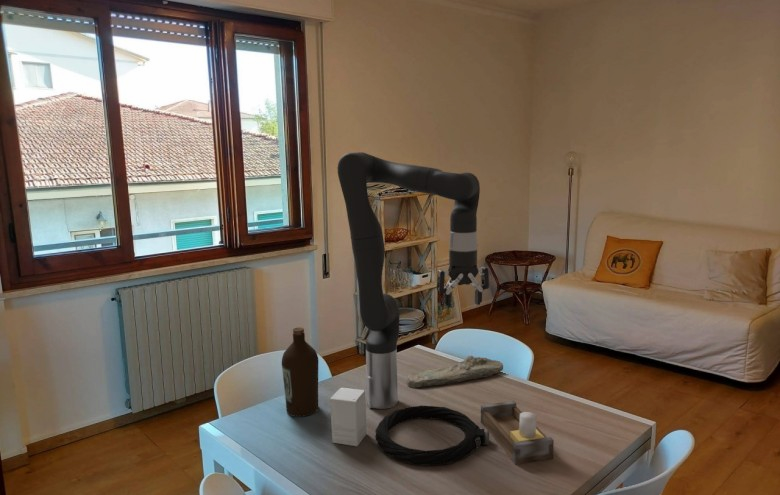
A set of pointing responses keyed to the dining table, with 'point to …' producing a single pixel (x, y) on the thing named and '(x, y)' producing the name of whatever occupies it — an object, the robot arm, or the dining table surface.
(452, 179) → the robot arm
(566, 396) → the dining table surface
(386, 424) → the cable lock
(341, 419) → the supplement box
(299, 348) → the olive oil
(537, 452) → the wooden tray
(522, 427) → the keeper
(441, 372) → the long grey stone
